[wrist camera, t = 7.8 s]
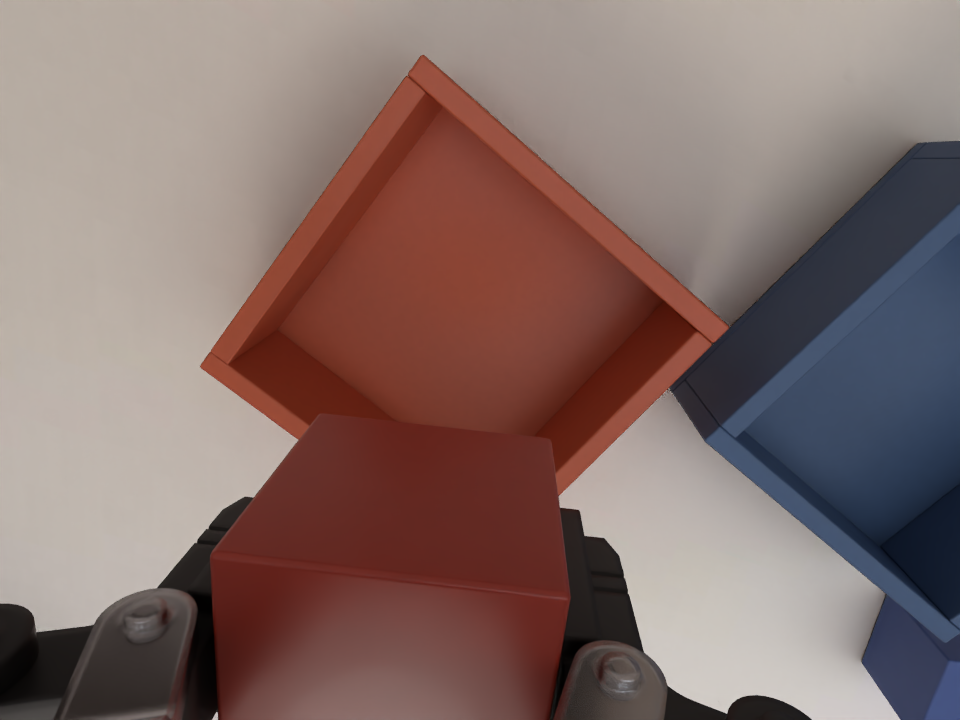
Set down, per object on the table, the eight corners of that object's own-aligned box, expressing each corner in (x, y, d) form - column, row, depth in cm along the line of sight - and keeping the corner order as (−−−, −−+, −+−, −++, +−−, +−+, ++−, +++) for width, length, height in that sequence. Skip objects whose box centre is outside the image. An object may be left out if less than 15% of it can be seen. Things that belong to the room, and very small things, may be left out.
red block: (318, 410, 12) (206, 553, 8) (551, 437, 12) (572, 596, 8) (316, 603, 14) (219, 815, 9) (524, 628, 13) (528, 854, 9)
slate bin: (917, 141, 24) (1030, 136, 19) (1127, 356, 26) (1283, 407, 21) (668, 387, 28) (704, 441, 23) (869, 558, 30) (945, 644, 25)
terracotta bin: (442, 76, 24) (422, 53, 19) (688, 294, 26) (730, 327, 21) (259, 328, 28) (198, 367, 23) (486, 501, 30) (480, 574, 25)
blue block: (887, 588, 30) (949, 660, 26) (981, 600, 30) (1059, 674, 26) (860, 662, 32) (914, 742, 27) (950, 673, 32) (1019, 755, 27)
